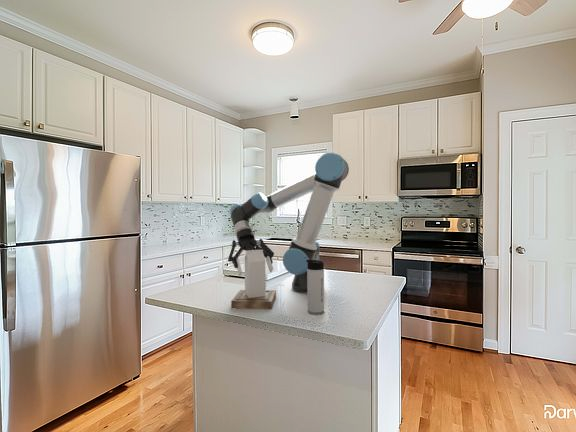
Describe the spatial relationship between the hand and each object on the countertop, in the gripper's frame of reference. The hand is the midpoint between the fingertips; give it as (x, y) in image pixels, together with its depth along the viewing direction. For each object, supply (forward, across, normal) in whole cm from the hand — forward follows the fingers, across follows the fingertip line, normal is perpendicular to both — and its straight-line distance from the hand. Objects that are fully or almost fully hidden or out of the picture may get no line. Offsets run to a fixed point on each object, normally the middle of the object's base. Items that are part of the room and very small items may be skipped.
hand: (256, 272), depth 126 cm
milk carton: (+6, 0, -9) cm, 11 cm away
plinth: (+8, 0, -11) cm, 13 cm away
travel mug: (+23, -16, +4) cm, 29 cm away
